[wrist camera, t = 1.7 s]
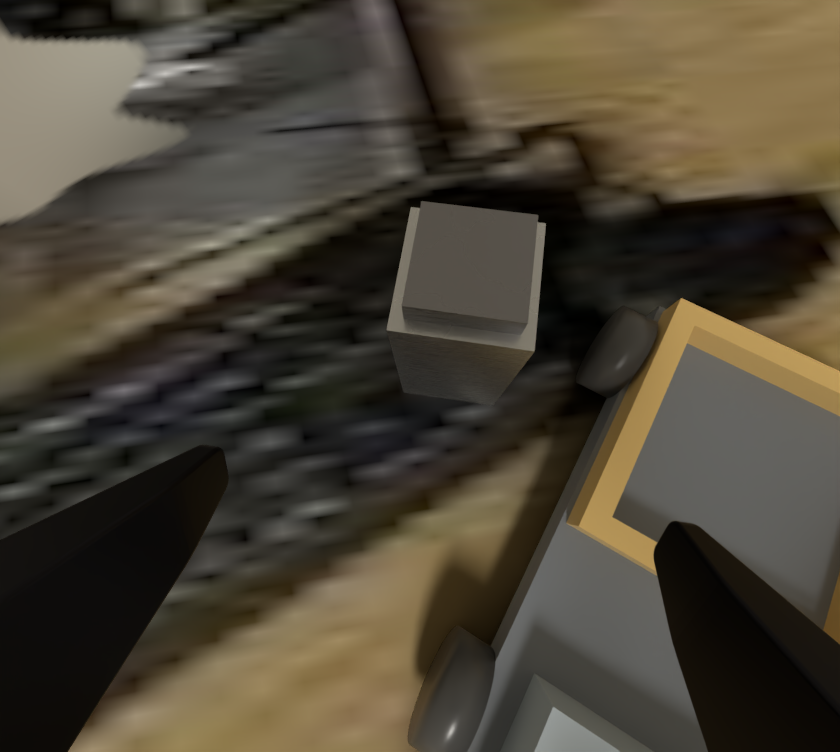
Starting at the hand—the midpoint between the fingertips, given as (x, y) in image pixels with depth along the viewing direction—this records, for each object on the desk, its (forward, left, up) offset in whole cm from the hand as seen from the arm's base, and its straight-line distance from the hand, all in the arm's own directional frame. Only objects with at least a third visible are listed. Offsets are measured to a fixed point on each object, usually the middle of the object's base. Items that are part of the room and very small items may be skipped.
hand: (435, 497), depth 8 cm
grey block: (+7, +3, -13) cm, 15 cm away
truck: (+2, -11, -13) cm, 17 cm away
